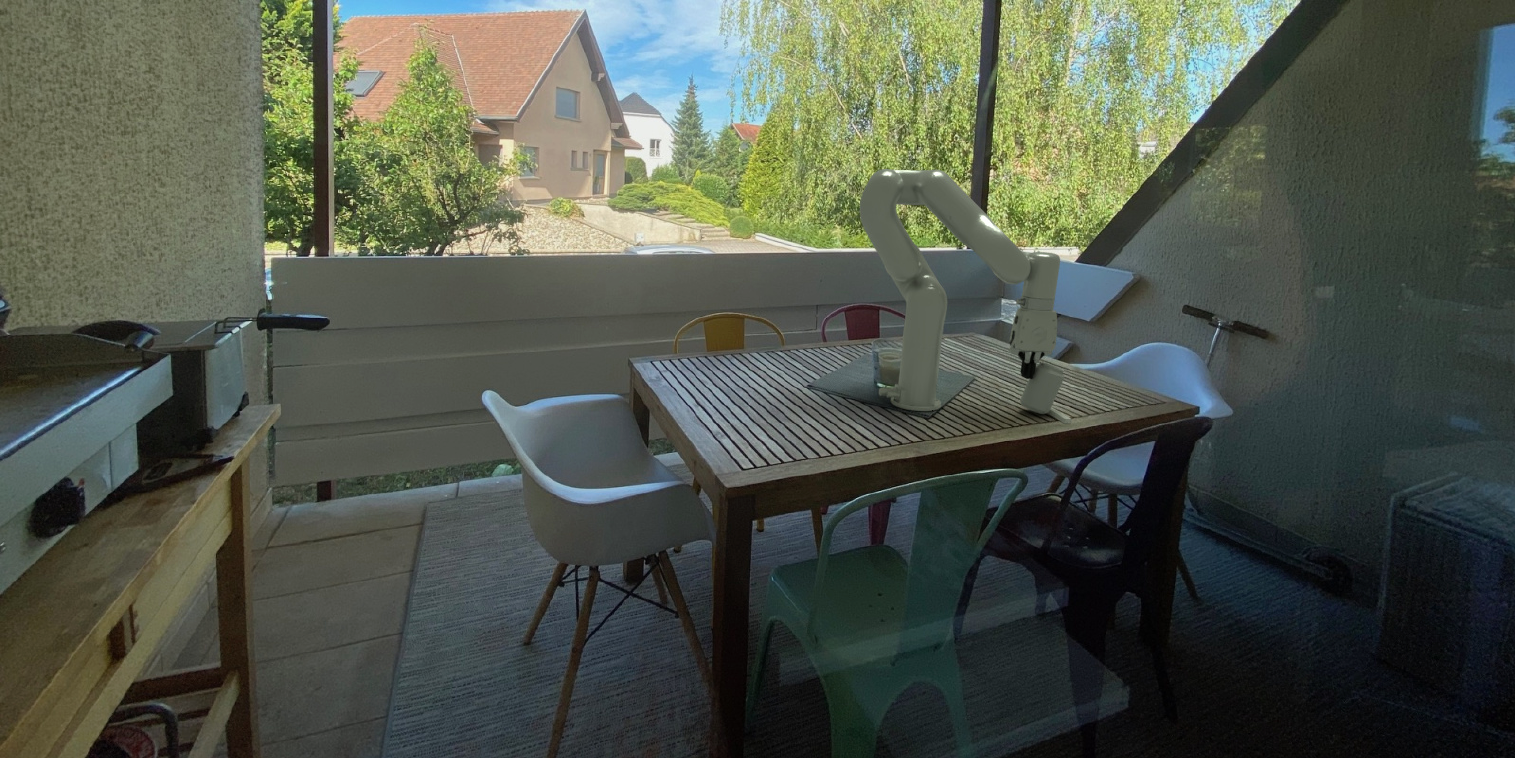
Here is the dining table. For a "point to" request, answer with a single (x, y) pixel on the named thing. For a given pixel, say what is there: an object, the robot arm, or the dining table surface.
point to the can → (1042, 388)
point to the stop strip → (1059, 416)
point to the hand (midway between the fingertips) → (1026, 377)
